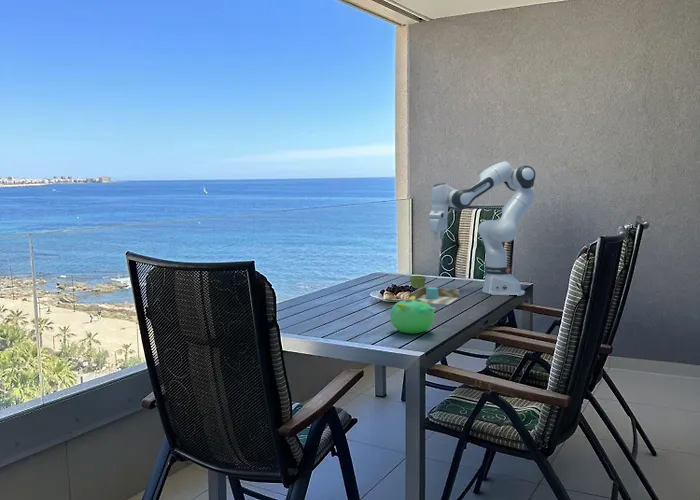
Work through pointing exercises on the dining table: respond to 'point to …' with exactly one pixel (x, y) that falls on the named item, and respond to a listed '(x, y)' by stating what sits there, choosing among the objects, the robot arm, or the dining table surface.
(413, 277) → the plant pot
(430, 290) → the cube
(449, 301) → the arena
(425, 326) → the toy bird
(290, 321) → the dining table surface
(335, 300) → the dining table surface
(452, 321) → the dining table surface
